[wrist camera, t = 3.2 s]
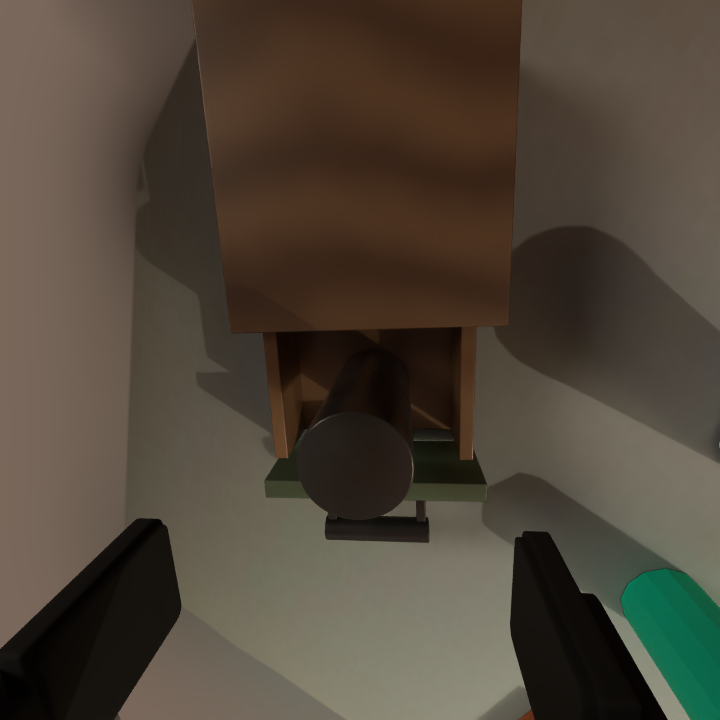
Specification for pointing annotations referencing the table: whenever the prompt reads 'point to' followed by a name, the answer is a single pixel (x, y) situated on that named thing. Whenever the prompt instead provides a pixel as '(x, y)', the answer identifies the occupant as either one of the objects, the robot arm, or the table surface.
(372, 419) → the cylinder
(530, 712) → the tray
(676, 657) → the candle
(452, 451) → the drawer
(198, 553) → the table surface
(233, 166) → the cabinet
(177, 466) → the table surface
